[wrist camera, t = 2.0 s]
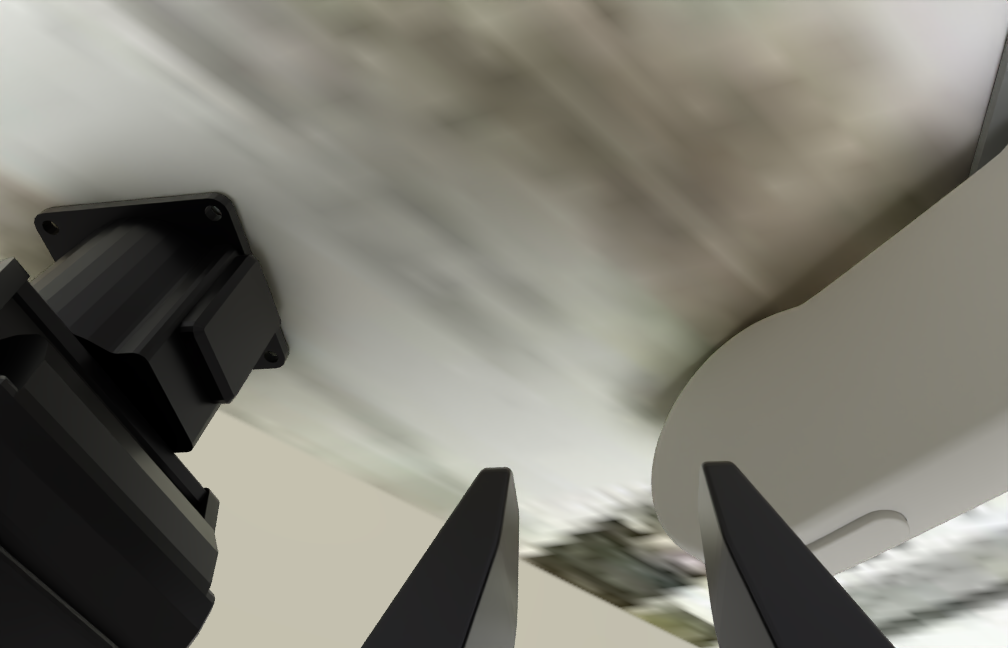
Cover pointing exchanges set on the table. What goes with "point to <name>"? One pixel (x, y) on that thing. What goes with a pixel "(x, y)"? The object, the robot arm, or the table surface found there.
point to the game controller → (864, 392)
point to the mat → (994, 120)
